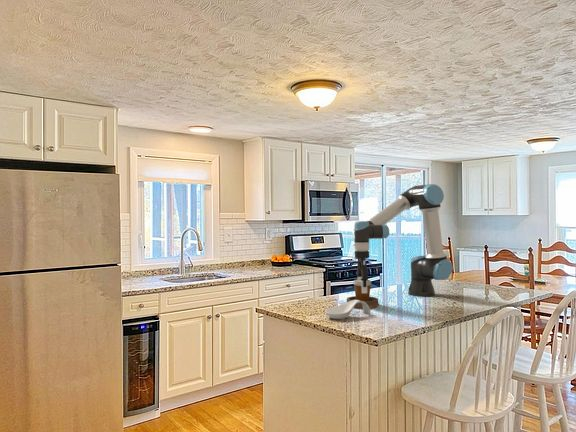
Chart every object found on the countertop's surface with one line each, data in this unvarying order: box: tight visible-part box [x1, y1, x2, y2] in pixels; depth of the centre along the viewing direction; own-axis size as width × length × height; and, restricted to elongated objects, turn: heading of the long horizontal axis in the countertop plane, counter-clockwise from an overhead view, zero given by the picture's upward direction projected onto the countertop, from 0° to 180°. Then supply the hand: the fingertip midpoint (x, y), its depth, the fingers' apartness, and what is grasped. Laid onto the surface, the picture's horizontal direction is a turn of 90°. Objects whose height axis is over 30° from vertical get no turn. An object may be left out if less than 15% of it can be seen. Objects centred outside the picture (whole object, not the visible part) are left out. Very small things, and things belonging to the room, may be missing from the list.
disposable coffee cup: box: [352, 279, 372, 301], centre depth 230 cm, size 10×10×12 cm
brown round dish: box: [346, 296, 380, 310], centre depth 229 cm, size 17×17×4 cm
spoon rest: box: [324, 300, 371, 320], centre depth 205 cm, size 24×12×7 cm, turn 122°
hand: (362, 291), depth 229 cm, fingers open, 13 cm apart
